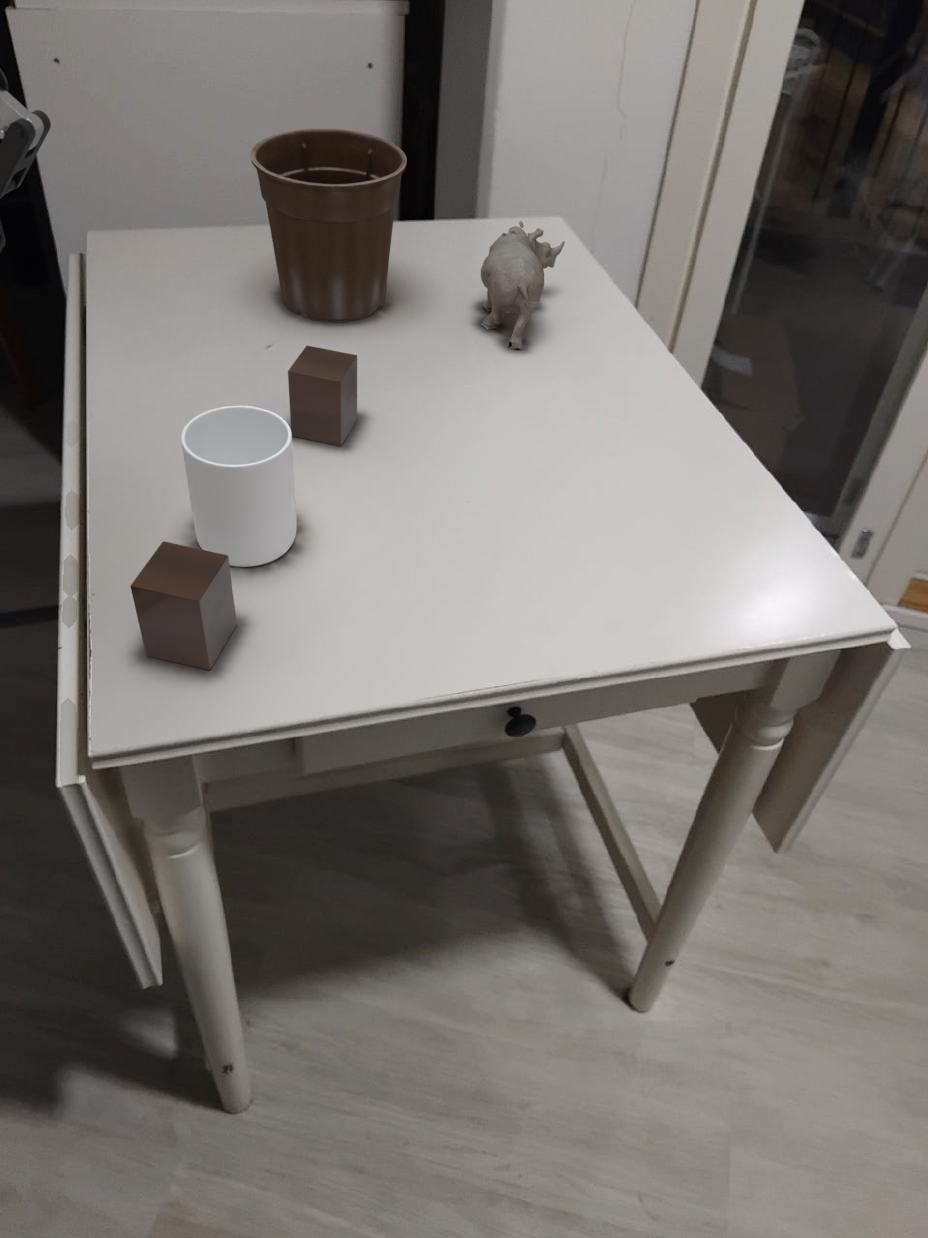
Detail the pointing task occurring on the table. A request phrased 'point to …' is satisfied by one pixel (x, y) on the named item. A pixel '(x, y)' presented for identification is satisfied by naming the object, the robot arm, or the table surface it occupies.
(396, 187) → the plant pot
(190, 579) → the block near
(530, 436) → the table surface
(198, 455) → the cup
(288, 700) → the table surface
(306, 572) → the table surface
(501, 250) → the rhinoceros figurine
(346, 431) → the block far
